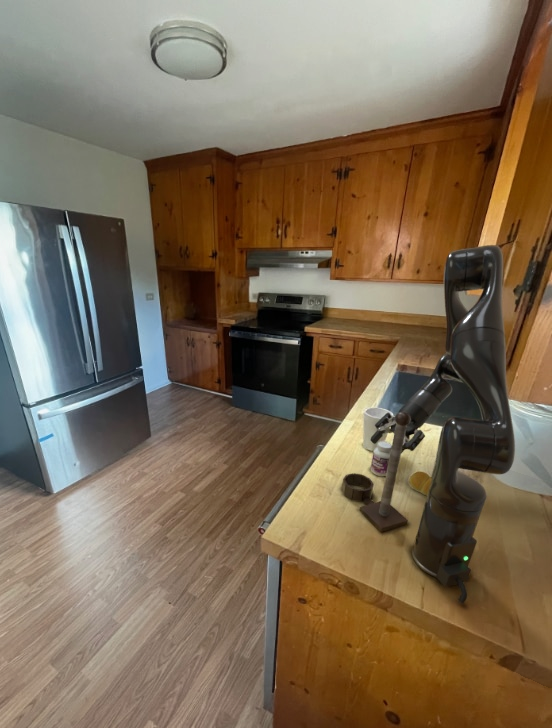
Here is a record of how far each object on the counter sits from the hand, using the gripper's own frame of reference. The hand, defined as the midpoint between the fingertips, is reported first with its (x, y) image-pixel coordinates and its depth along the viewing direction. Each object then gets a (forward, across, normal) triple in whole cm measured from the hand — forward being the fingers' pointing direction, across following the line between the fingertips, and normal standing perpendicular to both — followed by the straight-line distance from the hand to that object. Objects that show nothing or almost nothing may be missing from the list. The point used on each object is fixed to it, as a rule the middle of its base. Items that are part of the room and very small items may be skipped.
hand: (381, 448), depth 98 cm
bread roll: (+1, +11, +11) cm, 16 cm away
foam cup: (0, -13, +12) cm, 18 cm away
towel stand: (+14, +11, -3) cm, 18 cm away
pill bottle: (+5, 0, +6) cm, 8 cm away
